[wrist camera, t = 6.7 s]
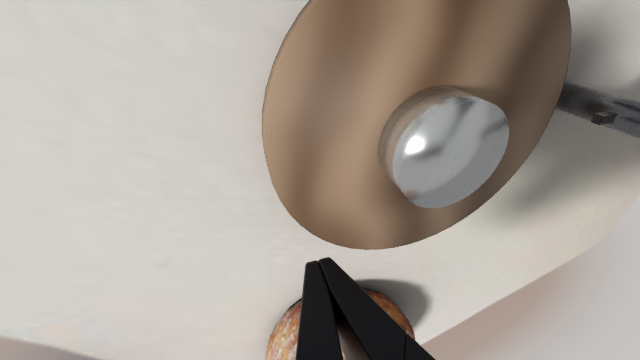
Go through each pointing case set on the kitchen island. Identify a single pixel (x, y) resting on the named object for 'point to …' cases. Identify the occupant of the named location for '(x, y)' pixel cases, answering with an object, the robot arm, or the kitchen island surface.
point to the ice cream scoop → (601, 108)
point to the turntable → (389, 92)
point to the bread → (286, 330)
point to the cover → (442, 145)
